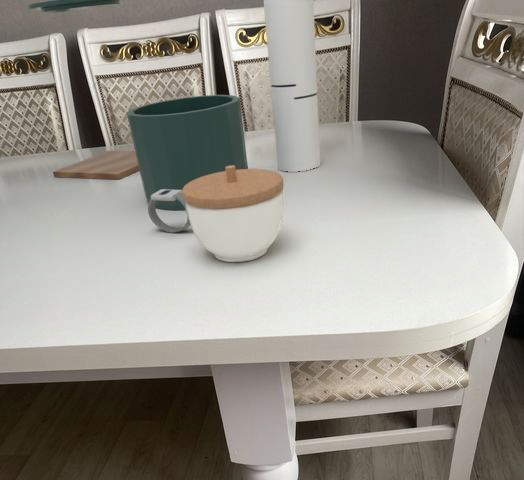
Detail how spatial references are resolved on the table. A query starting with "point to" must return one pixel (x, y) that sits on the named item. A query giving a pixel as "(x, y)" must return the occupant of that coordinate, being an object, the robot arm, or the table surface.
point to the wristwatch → (166, 196)
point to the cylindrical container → (293, 82)
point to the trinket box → (236, 212)
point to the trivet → (102, 166)
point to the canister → (186, 141)
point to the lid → (70, 5)
